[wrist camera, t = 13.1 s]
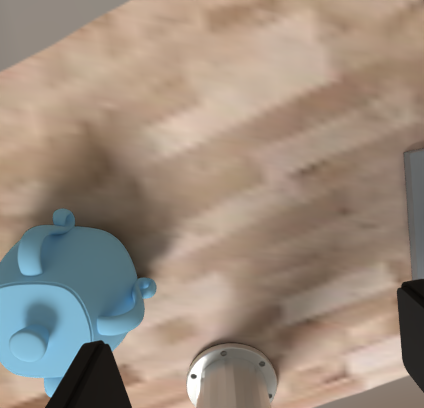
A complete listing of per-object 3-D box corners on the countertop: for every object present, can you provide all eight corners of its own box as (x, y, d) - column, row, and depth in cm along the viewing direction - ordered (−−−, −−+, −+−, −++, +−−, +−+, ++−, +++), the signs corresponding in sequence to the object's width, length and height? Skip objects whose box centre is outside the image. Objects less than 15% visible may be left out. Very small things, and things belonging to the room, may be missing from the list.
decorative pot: (-3, 266, 40) (-108, 337, 27) (83, 188, 38) (13, 224, 24) (88, 348, 44) (33, 447, 30) (174, 282, 41) (154, 359, 28)
